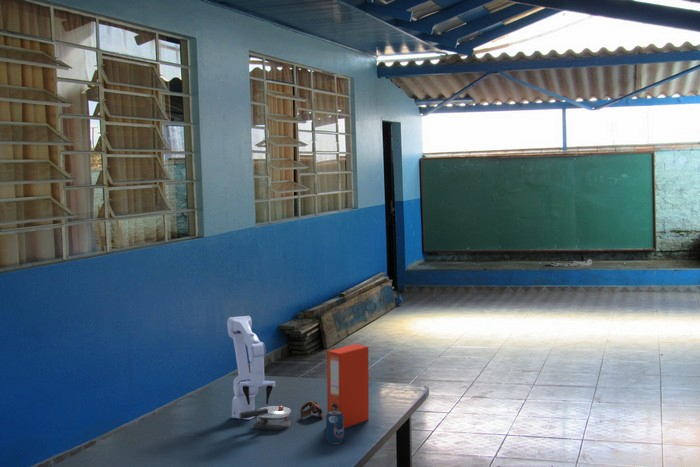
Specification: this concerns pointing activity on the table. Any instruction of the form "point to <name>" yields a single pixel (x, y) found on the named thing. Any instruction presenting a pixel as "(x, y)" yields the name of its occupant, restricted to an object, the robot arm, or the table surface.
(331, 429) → the soda can
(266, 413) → the cooker lid
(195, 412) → the table surface
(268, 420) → the cooker pot
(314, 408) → the pottery mug
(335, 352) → the file binder
